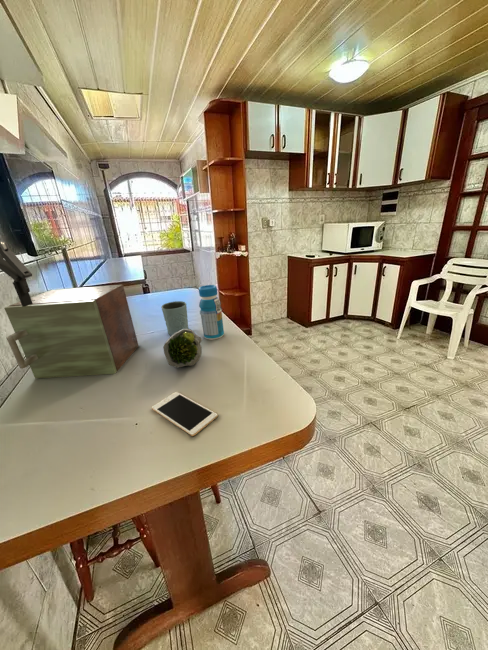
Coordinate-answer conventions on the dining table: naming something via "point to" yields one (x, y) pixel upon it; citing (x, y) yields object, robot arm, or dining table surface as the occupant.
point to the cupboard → (102, 315)
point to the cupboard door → (60, 339)
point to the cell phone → (185, 413)
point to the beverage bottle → (210, 312)
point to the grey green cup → (175, 316)
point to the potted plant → (183, 348)
